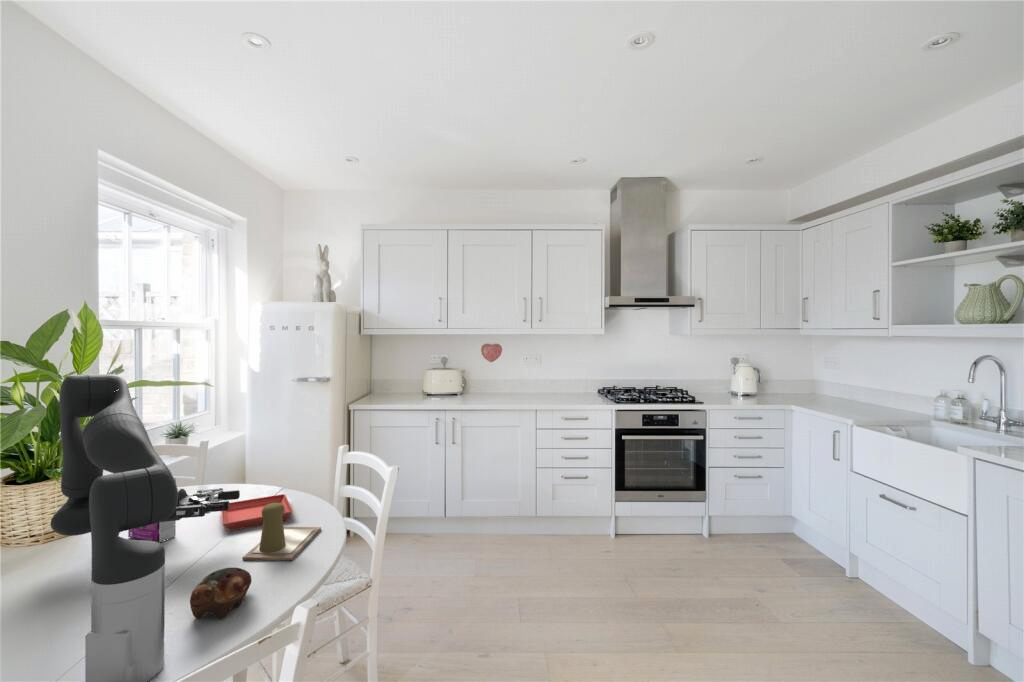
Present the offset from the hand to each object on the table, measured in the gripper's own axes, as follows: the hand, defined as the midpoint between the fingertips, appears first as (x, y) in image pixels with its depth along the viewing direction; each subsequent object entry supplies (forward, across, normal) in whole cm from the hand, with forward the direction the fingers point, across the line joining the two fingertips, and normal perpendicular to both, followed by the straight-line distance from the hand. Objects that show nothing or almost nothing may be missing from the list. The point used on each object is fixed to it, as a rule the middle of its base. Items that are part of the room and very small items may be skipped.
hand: (234, 499), depth 118 cm
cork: (+9, -2, +12) cm, 16 cm away
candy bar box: (-24, +14, +13) cm, 30 cm away
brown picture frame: (+12, +2, +13) cm, 18 cm away
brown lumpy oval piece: (+5, -27, +14) cm, 31 cm away
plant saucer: (0, +23, +13) cm, 27 cm away
